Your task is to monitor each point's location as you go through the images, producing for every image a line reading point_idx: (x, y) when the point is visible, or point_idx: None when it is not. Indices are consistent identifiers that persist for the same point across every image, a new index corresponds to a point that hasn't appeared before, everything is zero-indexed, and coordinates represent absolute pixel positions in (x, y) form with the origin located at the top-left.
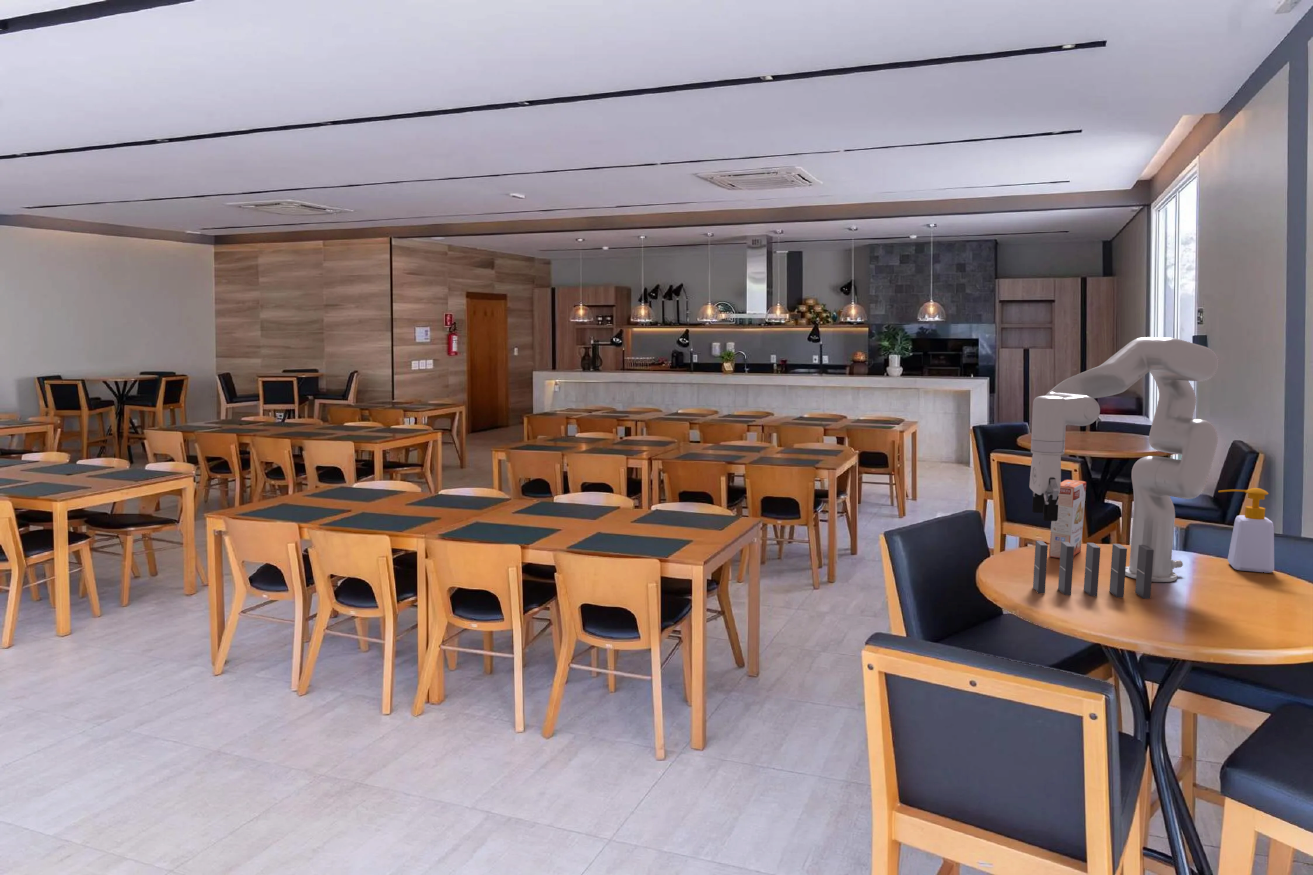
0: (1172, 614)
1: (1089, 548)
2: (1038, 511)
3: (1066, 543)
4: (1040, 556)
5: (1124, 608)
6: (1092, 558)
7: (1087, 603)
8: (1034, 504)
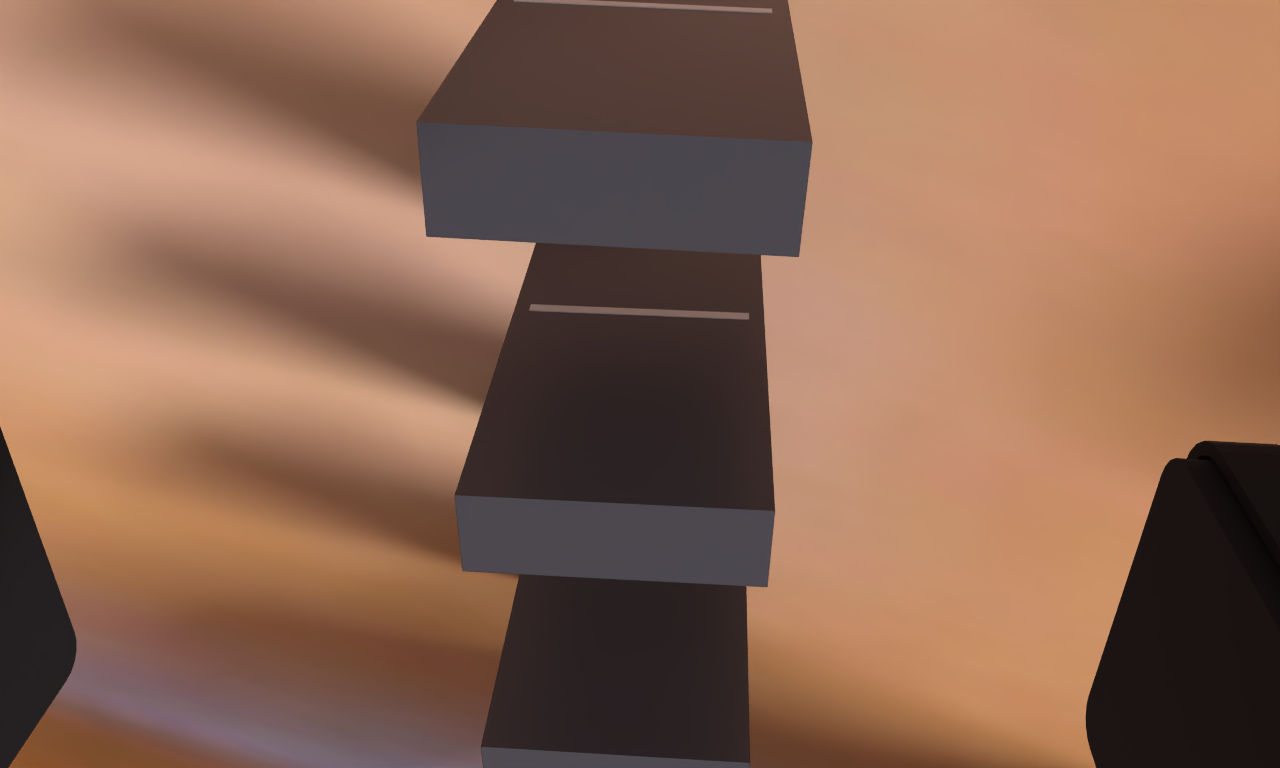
0: (221, 703)
1: (634, 715)
2: (1139, 587)
3: (650, 539)
4: (458, 60)
5: (256, 502)
6: (513, 636)
7: (305, 294)
8: (1270, 662)
